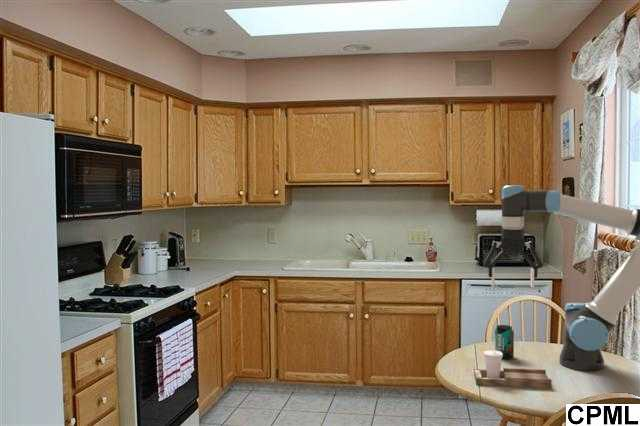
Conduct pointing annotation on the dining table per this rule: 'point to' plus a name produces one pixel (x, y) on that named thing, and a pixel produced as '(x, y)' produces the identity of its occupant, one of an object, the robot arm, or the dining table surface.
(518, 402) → the dining table surface
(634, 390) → the dining table surface
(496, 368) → the smoothie
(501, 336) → the beverage can
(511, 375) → the rail board
